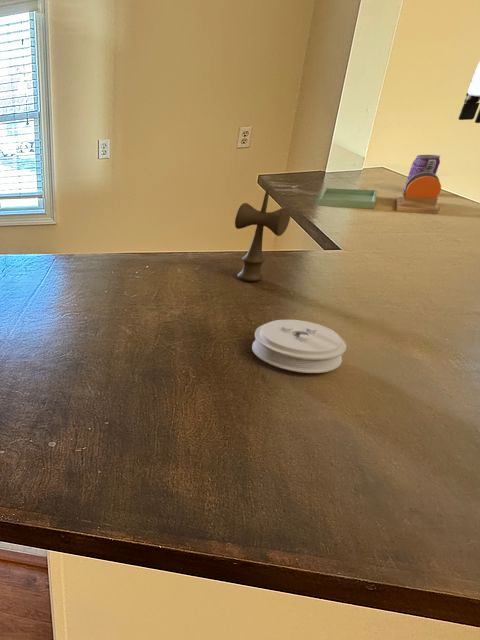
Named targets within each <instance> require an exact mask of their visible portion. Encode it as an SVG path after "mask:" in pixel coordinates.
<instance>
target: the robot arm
mask: <svg viewBox="0 0 480 640" xmlns="http://www.w3.org/2000/svg"><path fill="white" fill-rule="evenodd" d="M465 95H466V97H465V99H464V100H463V105H462V108H461V109H460V113H459V115H458V120H459V121H467V120H469V121H471V120H474V119H475V120H474V123H475V124H480V108H479V107H480V60H479V61H478V64H477V66H476V68H475V71H474V73H473V75H472V78H471V80H470V83H469V85H468V89H467V92H466V94H465ZM478 108H479V109H478ZM477 111H478V112H477ZM476 114H477V115H476ZM475 116H476V117H475Z"/></svg>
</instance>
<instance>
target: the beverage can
mask: <svg viewBox="0 0 480 640" xmlns="http://www.w3.org/2000/svg"><path fill="white" fill-rule="evenodd" d="M440 158H441V155H438V154H419V155H416V158H414V160H413V161H412V164H411V166H410V169H409V171H408V175H407V177H406V181H405V184H404V187H403V192H404V191H406V184H407V182H408V181H409V179H410V178H412V177H413V176H414V175H416V174H418V173H422V172H431V173H434V174H435V175H436V176H437V172H438V168H439V166H440V163H441V160H440Z"/></svg>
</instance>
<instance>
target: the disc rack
mask: <svg viewBox="0 0 480 640" xmlns="http://www.w3.org/2000/svg"><path fill="white" fill-rule="evenodd" d="M395 199H396V200H395V206H396V209H395V211H396V212H403V213H404V212H406V213H420V212H422V213H423V214H439V212H440V206H439V203H438V200H439V199H438V196H437V197H436V198H417V197H407V196H406V191H403V192H402V195H401V196H397V197H396V198H395ZM422 213H421V214H422Z"/></svg>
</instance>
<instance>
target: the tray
mask: <svg viewBox="0 0 480 640" xmlns="http://www.w3.org/2000/svg"><path fill="white" fill-rule="evenodd" d="M377 191H378V189H359V188H358V189H356V188H334V187H333V188H332V187H325V188H324V190H323V192H322V193H321V195H320V198H319V200H318V203H317V206H323V207H337V208H339V207H340V208H341V207H342V208H358V209H374V208H375V204H376V200H377Z"/></svg>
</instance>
